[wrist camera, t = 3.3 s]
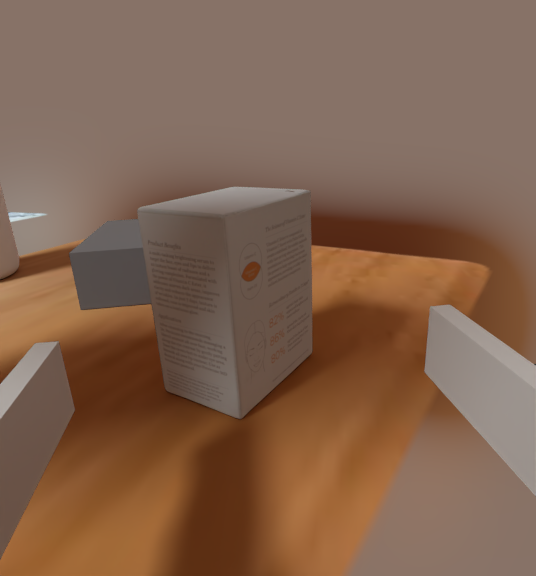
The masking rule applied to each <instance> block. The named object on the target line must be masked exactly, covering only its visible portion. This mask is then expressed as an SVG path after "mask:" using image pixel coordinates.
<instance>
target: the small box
mask: <svg viewBox="0 0 536 576" xmlns="http://www.w3.org/2000/svg"><path fill="white" fill-rule="evenodd" d="M137 213H138V220H139V226H140V233H141V239H142V245H143V252H144V258H145V264H146V271H147V277H148V284H149V291H150V297H151V303H152V310H153V316H154V323H155V329H156V335H157V342H158V348H159V355H160V361H161V367H162V374H163V380H164V386H165V389H166V391H168V392H171V393H173V394H176V395H179V396H181V397H184V398H187V399H189V400H192V401H194V402H197V403H199V404H202V405H204V406H207V407H209V408H212V409H214V410H217V411H219V412H222V413H224V414H227V415H230V416H232V417H235V418H237V419H242V418H243V417H244V416H245V415H246V414H247V413H248V412H249V411H250V410H251V409H252V408H253V407H254V406H256V405H257V404H258V403H259V402H260V401H261V400H262V399H263V398H264V397H265V396H266V395H267V394H269V393H270V392H271V391H272V390H273V389H274V388H275V387H276V386H277V385H278V384H279V383H280V382H281V381H283V380H284V379H285V378H286V377H287V376H288V375H289V374H290V373H291V372H292V371H293V370H294V369H295V368H297V367H298V366H299V365H300V364H301V363H302V362H303V361H304V360H305V359H306V358H307V357H308V356H309V355H310V354H311V353H312V267H311V192H310V191H308V190H297V189H273V188H251V187H231V188H227V189H222V190H217V191H213V192H208V193H203V194H199V195H194V196H190V197H185V198H181V199H176V200H172V201H167V202H162V203H158V204H153V205H149V206H145V207H140V208H139V209H138V210H137Z"/></svg>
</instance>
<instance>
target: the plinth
mask: <svg viewBox="0 0 536 576" xmlns="http://www.w3.org/2000/svg"><path fill="white" fill-rule="evenodd" d="M69 256H70V261H71V266H72V271H73V275H74V280H75V285H76V290H77V294H78V299H79V304H80V308H81V310H83V309H94V308H106V307H117V306H129V305H140V304H151V297H150V291H149V284H148V277H147V271H146V264H145V258H144V252H143V245H142V239H141V233H140V226H139V220H138V219H134V220H133V219H132V220H118V221H107V222H106V223H105V224H103V225H102V226H101V227H100V228H99V229H97V230H96V231H95V232H94V233H93V234H92V235H90V236H89V237H88V238H87V239H85V240H84V241H83V242H82V243H81V244H79V245H78V246H77V247H76V248H74V249H73V250H72V251H71V252H70V253H69Z"/></svg>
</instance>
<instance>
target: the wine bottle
mask: <svg viewBox="0 0 536 576" xmlns="http://www.w3.org/2000/svg"><path fill="white" fill-rule="evenodd" d="M18 267H19V255H18V251H17V248H16V244H15V240H14V236H13V232H12V228H11V224H10V220H9V216H8V212H7V209H6V204H5V200H4V196H3V192H2V188H1V184H0V279H3V278H5V277H8V276H9V275H11V274H13V273H14V272H15V271H16V270H17V269H18Z"/></svg>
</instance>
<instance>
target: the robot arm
mask: <svg viewBox="0 0 536 576" xmlns="http://www.w3.org/2000/svg"><path fill="white" fill-rule="evenodd" d="M424 372H425V373H426V374H427V375H428V377H429V378H430V379H431V380H432V381H433V382H434V383H435V384H436V386H437V387H438V388H439V389H440V390H441V391H442V392H443V393H444V394H445V395H446V397H447V398H448V399H449V400H450V401H451V402H452V403H453V404H454V406H455V407H456V408H457V409H458V410H459V411H460V412H461V413H462V415H463V416H464V417H465V418H466V419H467V420H468V421H469V422H470V423H471V425H472V426H473V427H474V428H475V429H476V430H477V431H478V432H479V433H480V435H481V436H482V437H483V438H484V439H485V440H486V441H487V442H488V443H489V445H490V446H491V447H492V448H493V449H494V450H495V451H496V452H497V454H498V455H499V456H500V457H501V458H502V459H503V460H504V461H505V462H506V464H507V465H508V466H509V467H510V468H511V469H512V470H513V471H514V472H515V473H516V475H517V476H518V477H519V478H520V479H521V480H522V481H523V482H524V484H525V485H526V486H527V487H528V488H529V489H530V490H531V491H532V493H533V494H534V495H535V496H536V364H533V363H531V362H530V361H528V360H527V359H526V358H524V357H523V356H521V355H520V354H519V353H517V352H516V351H514V350H513V349H512V348H510V347H509V346H507V345H506V344H505V343H503V342H502V341H500V340H499V339H498V338H496V337H495V336H493V335H492V334H490V333H489V332H488V331H486V330H485V329H483V328H482V327H481V326H479V325H478V324H476V323H475V322H474V321H472V320H471V319H469V318H468V317H467V316H465V315H464V314H462V313H461V312H460V311H458V310H457V309H455V308H454V307H453V306H451V305H441V306H430V314H429V325H428V337H427V348H426V360H425V371H424ZM74 411H75V408H74V403H73V399H72V395H71V391H70V387H69V382H68V378H67V374H66V370H65V365H64V361H63V357H62V353H61V348H60V344H59V341H56V342H45V343H35V344H34V345H33V346H32V348H31V349H30V350H29V351H28V352H27V353H26V355H25V356H24V357H23V358H22V359H21V360H20V362H19V363H18V364H17V365H16V366H15V367H14V369H13V370H12V371H11V372H10V373H9V375H8V376H7V377H6V378H5V379H4V380H3V382H2V383H1V384H0V559H1V557H2V555H3V553H4V551H5V549H6V547H7V545H8V543H9V541H10V539H11V537H12V535H13V533H14V531H15V529H16V527H17V525H18V523H19V521H20V519H21V517H22V515H23V513H24V511H25V509H26V507H27V505H28V503H29V501H30V499H31V497H32V495H33V493H34V491H35V489H36V487H37V485H38V483H39V481H40V479H41V477H42V475H43V473H44V471H45V469H46V467H47V465H48V463H49V461H50V459H51V457H52V455H53V453H54V451H55V449H56V447H57V445H58V443H59V441H60V439H61V437H62V435H63V433H64V431H65V429H66V427H67V425H68V423H69V421H70V419H71V417H72V415H73V413H74Z"/></svg>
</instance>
